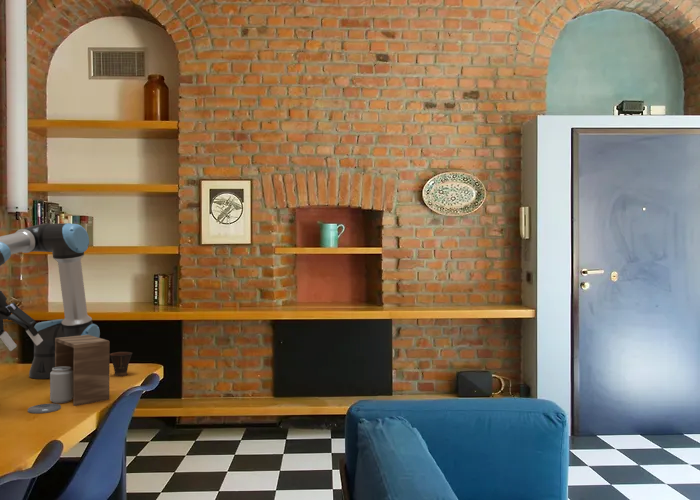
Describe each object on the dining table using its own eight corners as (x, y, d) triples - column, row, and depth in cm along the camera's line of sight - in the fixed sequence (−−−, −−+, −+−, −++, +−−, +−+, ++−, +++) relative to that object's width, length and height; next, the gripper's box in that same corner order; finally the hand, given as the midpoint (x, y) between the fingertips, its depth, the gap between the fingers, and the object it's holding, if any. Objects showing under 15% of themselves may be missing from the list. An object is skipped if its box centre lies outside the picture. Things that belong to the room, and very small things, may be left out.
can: (78, 399, 217) (78, 366, 217) (61, 404, 210) (61, 370, 210) (61, 397, 220) (61, 364, 219) (45, 402, 213) (45, 368, 212)
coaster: (23, 409, 204) (23, 407, 204) (54, 403, 211) (54, 401, 211) (33, 415, 197) (33, 413, 197) (65, 409, 204) (65, 407, 204)
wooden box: (54, 395, 222) (55, 338, 222) (88, 390, 231) (88, 334, 231) (74, 405, 209) (74, 344, 208) (109, 399, 217) (109, 340, 217)
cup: (101, 374, 254) (105, 351, 255) (118, 373, 262) (122, 350, 262) (116, 378, 250) (120, 353, 250) (133, 376, 257) (136, 353, 258)
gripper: (-43, 308, 203) (-5, 357, 212) (5, 295, 193) (43, 347, 201) (-26, 296, 209) (10, 344, 218) (22, 283, 199) (58, 333, 208)
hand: (26, 345), depth 210 cm, fingers open, 13 cm apart
